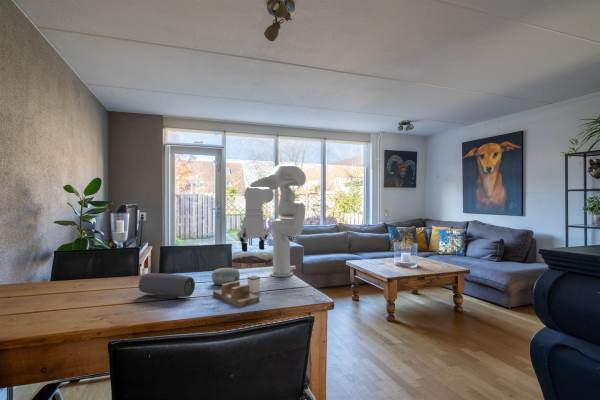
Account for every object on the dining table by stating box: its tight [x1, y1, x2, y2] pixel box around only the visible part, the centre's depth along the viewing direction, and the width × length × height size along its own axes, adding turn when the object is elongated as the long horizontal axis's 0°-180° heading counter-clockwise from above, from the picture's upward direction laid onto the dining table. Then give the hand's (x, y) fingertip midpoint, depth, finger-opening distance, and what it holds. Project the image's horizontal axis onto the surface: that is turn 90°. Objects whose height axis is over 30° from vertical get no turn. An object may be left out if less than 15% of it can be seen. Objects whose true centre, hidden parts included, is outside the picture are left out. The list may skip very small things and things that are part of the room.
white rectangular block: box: [247, 275, 261, 294], centre depth 147 cm, size 4×4×7 cm
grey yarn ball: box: [211, 267, 240, 286], centre depth 159 cm, size 14×10×10 cm
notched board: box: [212, 280, 260, 308], centre depth 137 cm, size 10×20×6 cm, turn 45°
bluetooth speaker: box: [138, 272, 196, 300], centre depth 139 cm, size 23×9×10 cm, turn 74°
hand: (253, 250), depth 147 cm, fingers open, 9 cm apart
